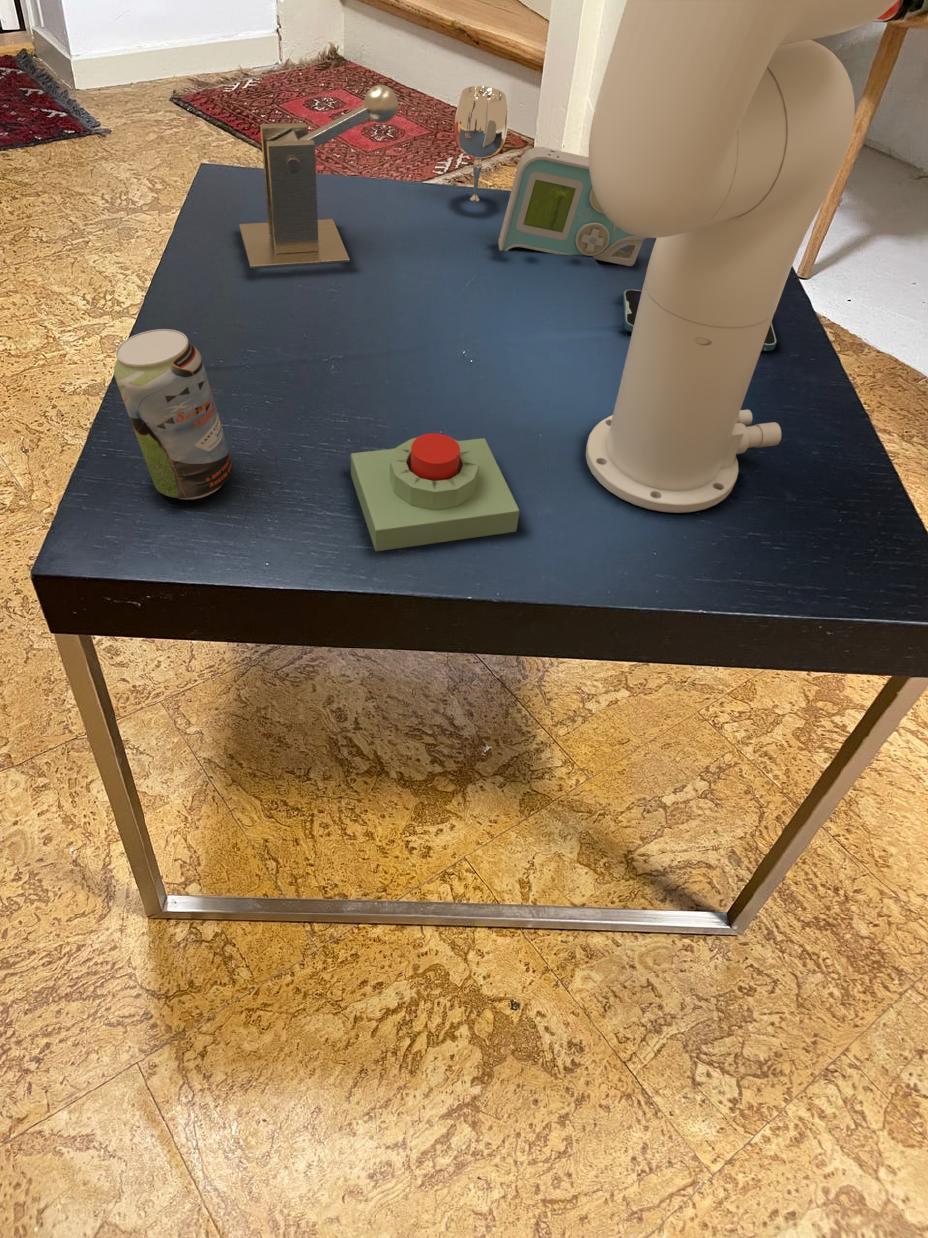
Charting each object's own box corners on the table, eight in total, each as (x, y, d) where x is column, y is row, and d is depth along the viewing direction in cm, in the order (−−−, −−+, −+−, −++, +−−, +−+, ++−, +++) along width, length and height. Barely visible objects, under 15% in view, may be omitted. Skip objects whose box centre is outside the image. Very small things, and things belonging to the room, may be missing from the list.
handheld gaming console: (630, 285, 104) (497, 258, 101) (627, 272, 106) (496, 246, 103) (668, 184, 96) (525, 152, 93) (664, 172, 98) (523, 141, 95)
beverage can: (217, 517, 71) (196, 379, 62) (124, 498, 72) (90, 359, 63) (247, 466, 75) (231, 330, 66) (158, 449, 76) (131, 312, 67)
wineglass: (506, 215, 108) (519, 102, 99) (459, 220, 107) (468, 106, 98) (487, 193, 112) (497, 82, 103) (441, 197, 110) (448, 85, 101)
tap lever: (398, 105, 93) (385, 73, 90) (406, 118, 91) (393, 85, 88) (281, 167, 94) (264, 137, 91) (286, 181, 92) (269, 151, 89)
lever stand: (333, 229, 103) (330, 113, 94) (350, 270, 97) (348, 151, 88) (239, 234, 100) (227, 116, 92) (251, 277, 95) (239, 155, 86)
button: (451, 449, 73) (452, 430, 72) (464, 478, 71) (465, 460, 69) (405, 454, 72) (406, 435, 71) (417, 484, 70) (418, 466, 68)
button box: (482, 459, 78) (487, 418, 75) (516, 532, 72) (523, 491, 70) (350, 475, 75) (350, 434, 73) (375, 552, 70) (375, 511, 67)
